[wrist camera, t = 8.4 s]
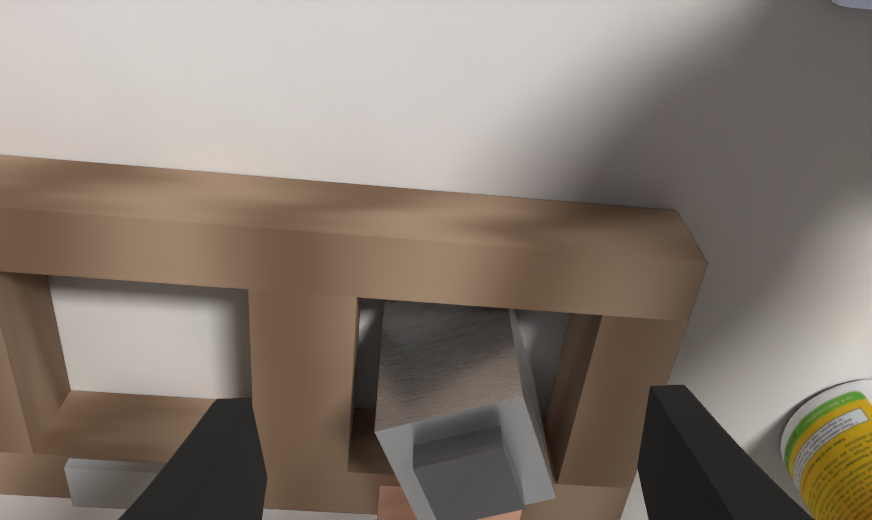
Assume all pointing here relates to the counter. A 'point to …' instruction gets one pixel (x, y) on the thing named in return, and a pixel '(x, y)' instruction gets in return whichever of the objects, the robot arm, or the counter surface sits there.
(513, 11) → the counter surface
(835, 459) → the supplement bottle
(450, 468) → the plug
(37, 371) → the socket board
